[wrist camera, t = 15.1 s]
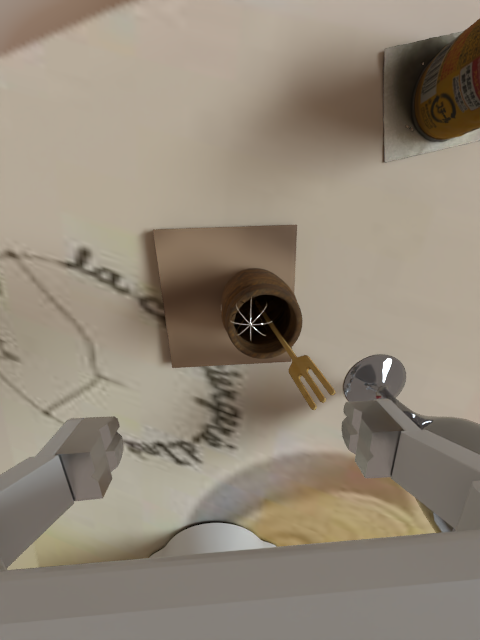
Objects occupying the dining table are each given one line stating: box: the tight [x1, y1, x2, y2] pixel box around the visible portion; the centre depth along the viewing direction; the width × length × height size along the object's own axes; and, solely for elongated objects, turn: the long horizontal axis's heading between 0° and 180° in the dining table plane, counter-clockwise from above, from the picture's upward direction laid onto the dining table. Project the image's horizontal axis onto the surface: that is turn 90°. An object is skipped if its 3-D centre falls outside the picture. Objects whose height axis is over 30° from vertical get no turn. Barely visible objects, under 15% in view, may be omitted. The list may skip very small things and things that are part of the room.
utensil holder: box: [221, 268, 335, 410], centre depth 17 cm, size 6×6×12 cm
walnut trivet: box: [153, 225, 297, 368], centre depth 24 cm, size 13×12×1 cm
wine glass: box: [344, 355, 480, 533], centre depth 21 cm, size 8×8×15 cm
